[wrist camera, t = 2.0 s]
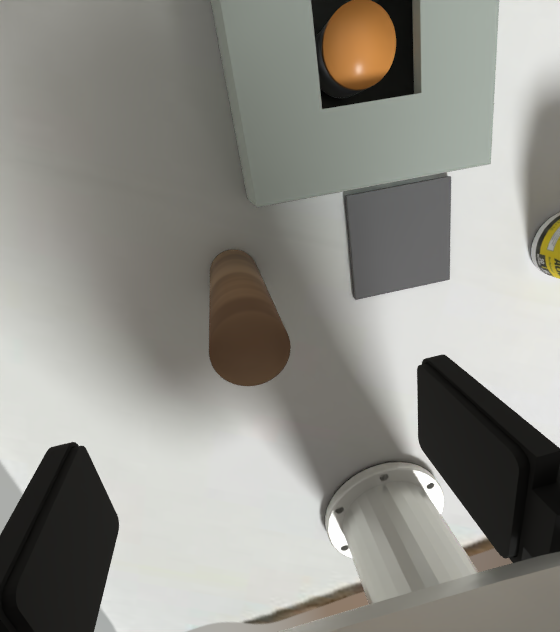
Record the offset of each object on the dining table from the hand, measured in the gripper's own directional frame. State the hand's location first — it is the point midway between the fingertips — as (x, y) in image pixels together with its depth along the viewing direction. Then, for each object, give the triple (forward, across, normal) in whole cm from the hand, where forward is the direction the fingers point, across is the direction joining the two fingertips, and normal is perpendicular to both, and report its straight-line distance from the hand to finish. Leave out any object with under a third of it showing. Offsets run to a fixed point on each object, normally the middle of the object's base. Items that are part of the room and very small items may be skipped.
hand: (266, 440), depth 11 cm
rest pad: (+19, -13, 0) cm, 23 cm away
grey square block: (+19, -9, -12) cm, 24 cm away
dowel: (+19, 0, 0) cm, 19 cm away
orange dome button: (+17, -9, -12) cm, 23 cm away
